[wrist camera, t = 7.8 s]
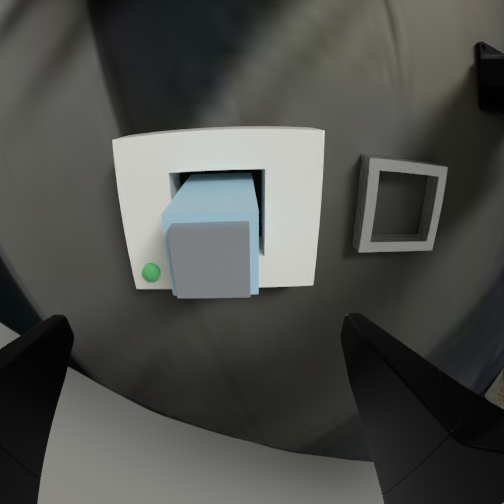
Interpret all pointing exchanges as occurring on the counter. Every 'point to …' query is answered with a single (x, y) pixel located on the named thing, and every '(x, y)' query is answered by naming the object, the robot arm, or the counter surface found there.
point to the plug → (213, 237)
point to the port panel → (225, 158)
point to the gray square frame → (367, 204)
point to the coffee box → (497, 391)
